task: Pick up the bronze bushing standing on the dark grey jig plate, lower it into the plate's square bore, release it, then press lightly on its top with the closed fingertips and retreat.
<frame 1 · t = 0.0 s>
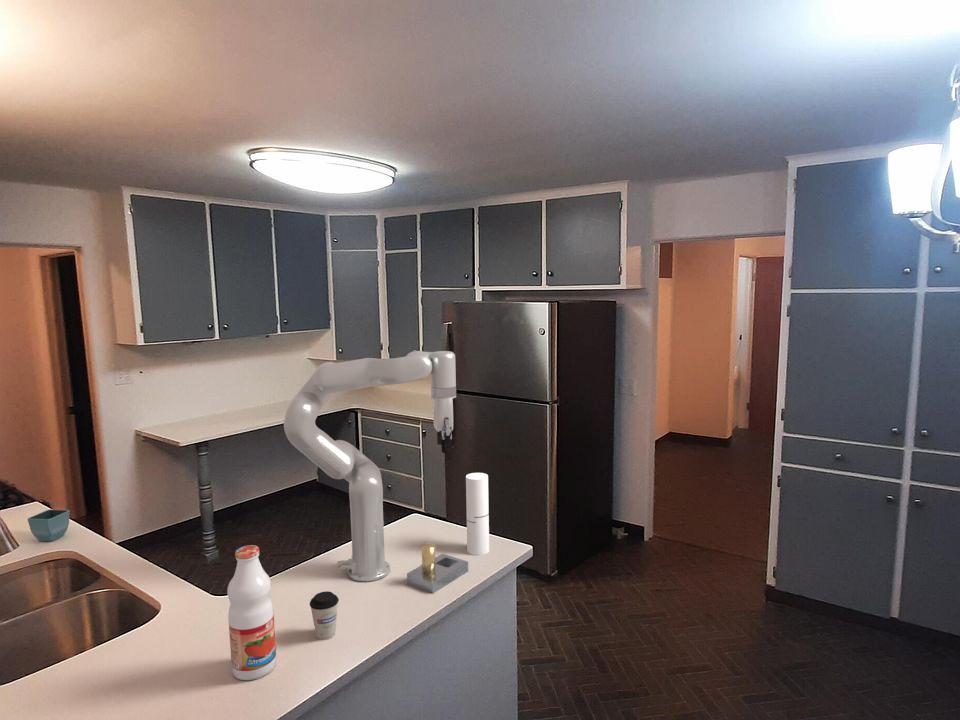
hand: (444, 448, 178), 37 cm above the counter, tool pointing down, fingers open, 9 cm apart
bushing: (429, 572, 170), point 3 cm above the counter, touching jig plate
flower pot: (51, 539, 206), on the counter
cylindrical container: (478, 551, 191), on the counter
jig plate: (438, 577, 174), on the counter
fruit juice: (254, 668, 132), on the counter
coffee cup: (325, 635, 145), on the counter
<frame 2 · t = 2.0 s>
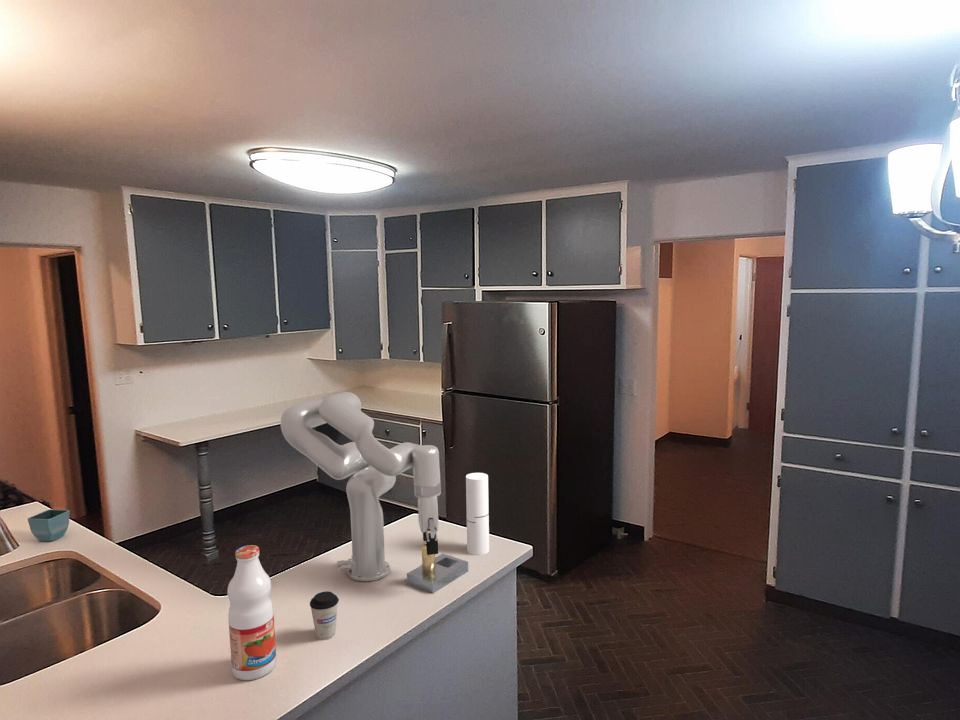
hand: (430, 546, 169), 11 cm above the counter, tool pointing down, fingers open, 9 cm apart
nothing on the counter moved.
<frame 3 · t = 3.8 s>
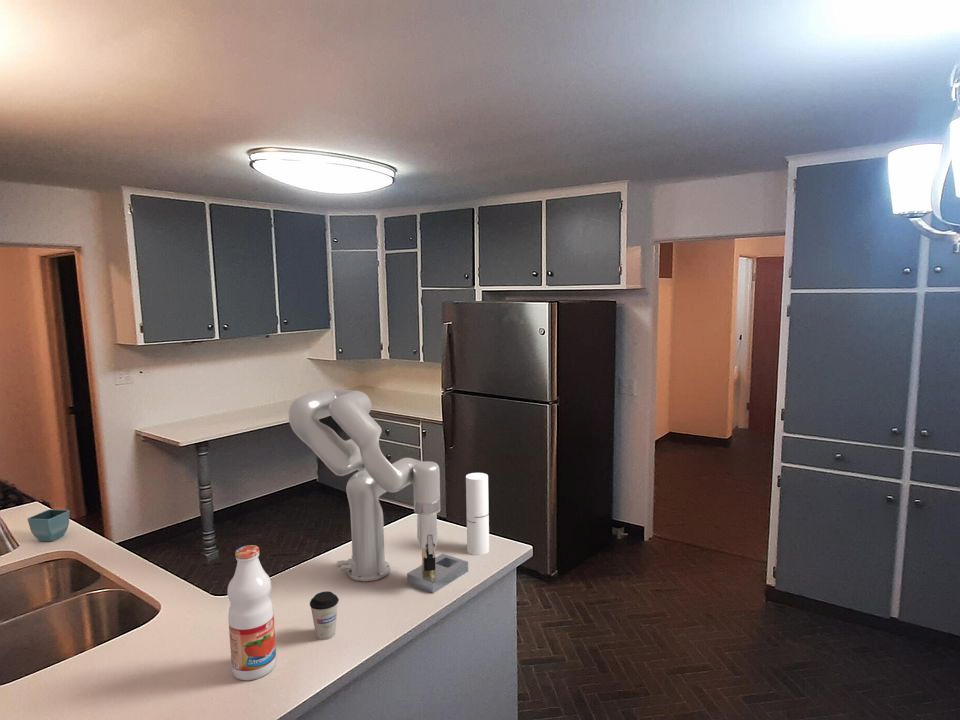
hand: (428, 566, 170), 5 cm above the counter, tool pointing down, fingers closed on bushing, 3 cm apart
bushing: (429, 572, 170), point 3 cm above the counter, touching gripper, jig plate
everything else where it was.
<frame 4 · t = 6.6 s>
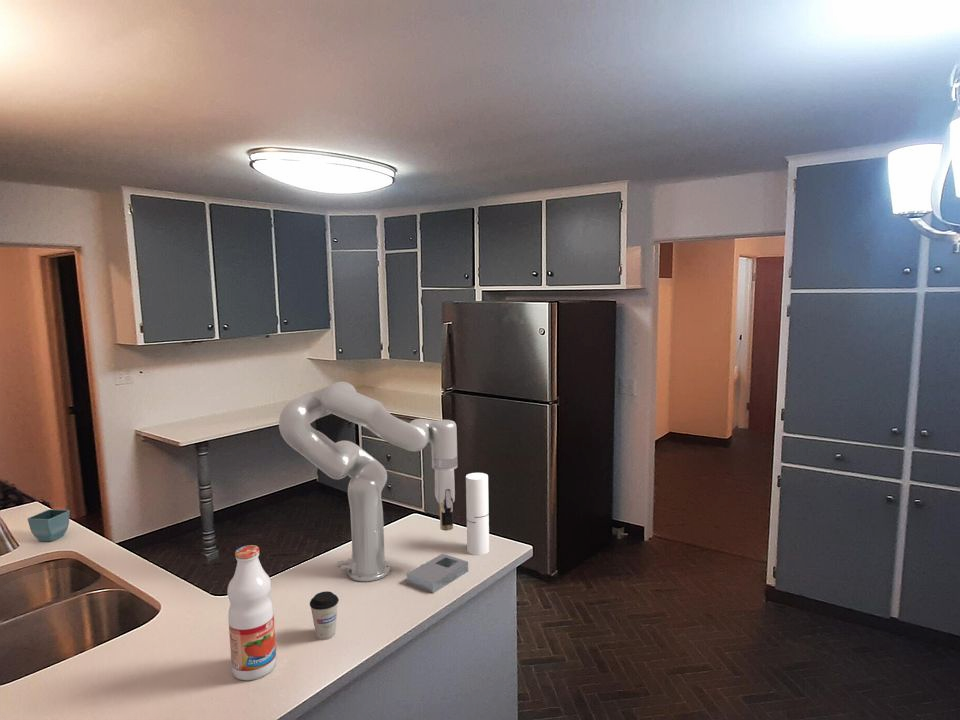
hand: (446, 521, 175), 16 cm above the counter, tool pointing down, fingers closed on bushing, 3 cm apart
bushing: (446, 528, 175), point 14 cm above the counter, touching gripper
everything else where it was.
when the fingers open (4 cm above the counter, at t = 9.9 s): bushing drops 2 cm, resting in jig plate.
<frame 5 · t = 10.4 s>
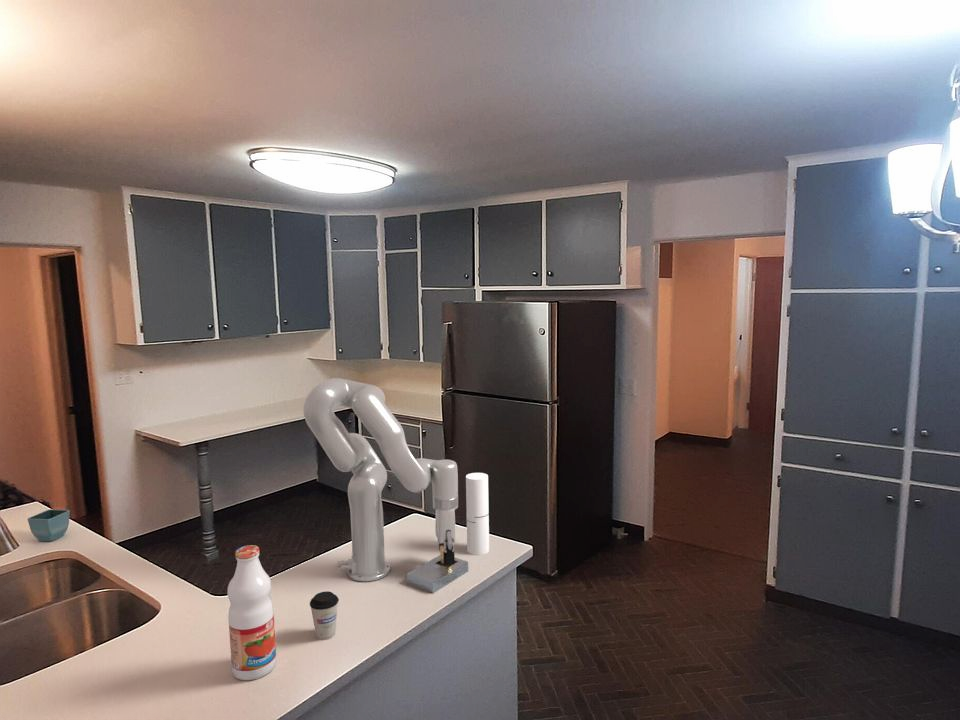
hand: (446, 557, 176), 5 cm above the counter, tool pointing down, fingers open, 9 cm apart
bushing: (447, 572, 177), resting in jig plate
everything else where it was.
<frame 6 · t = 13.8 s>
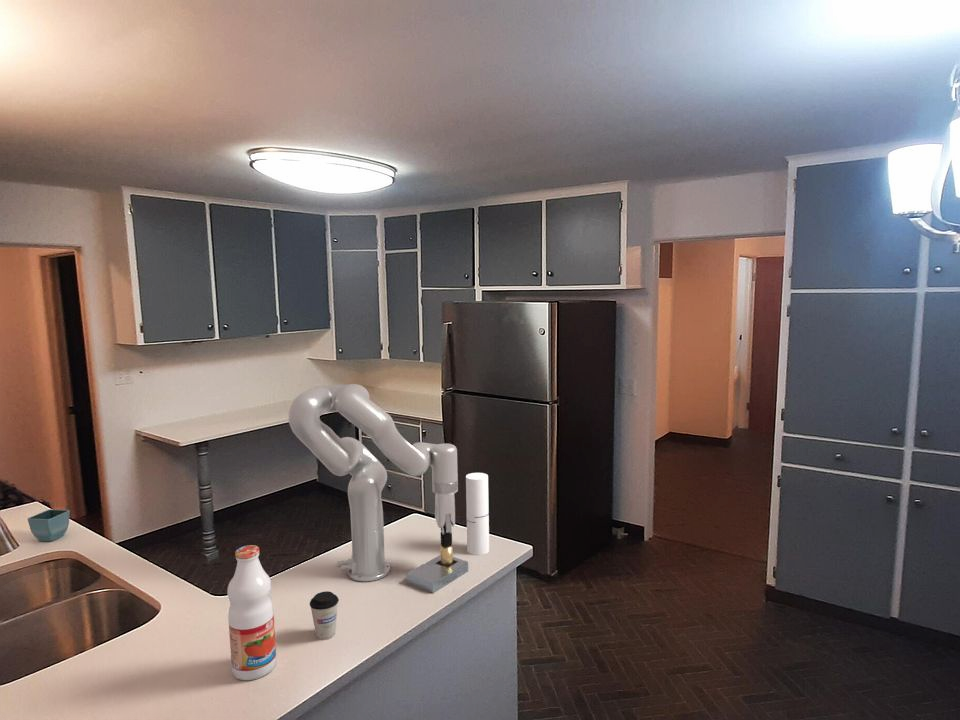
hand: (446, 545, 176), 8 cm above the counter, tool pointing down, fingers closed
nothing on the counter moved.
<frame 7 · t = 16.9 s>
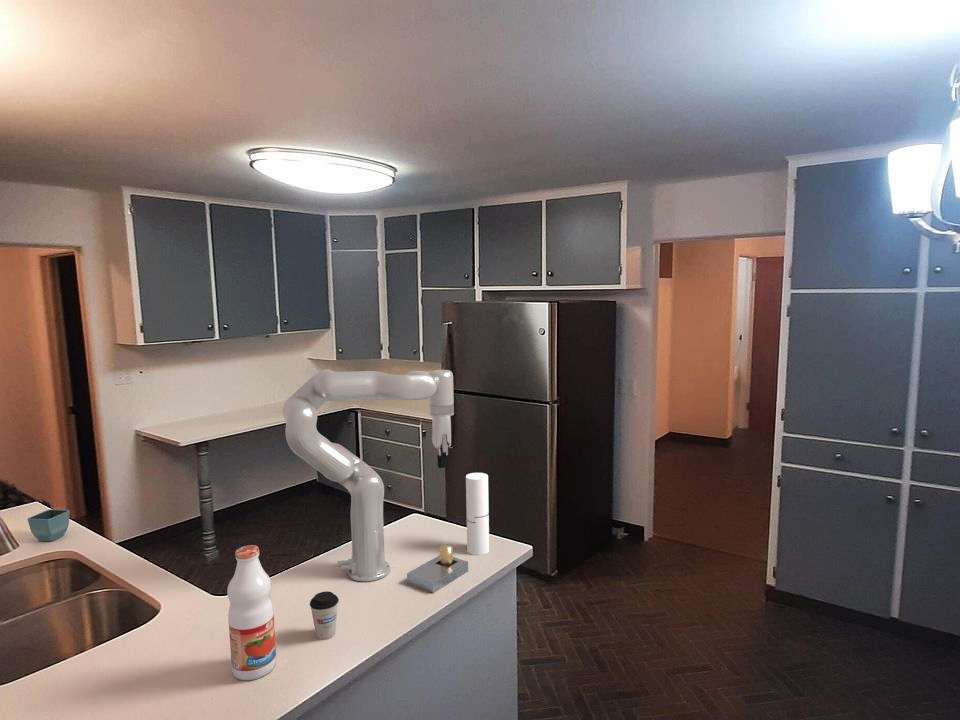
hand: (443, 466, 185), 29 cm above the counter, tool pointing down, fingers closed
nothing on the counter moved.
at the end: bushing 0.0 cm from the target spot, resting in jig plate; bushing tilted 1°; the gripper is holding nothing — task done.
